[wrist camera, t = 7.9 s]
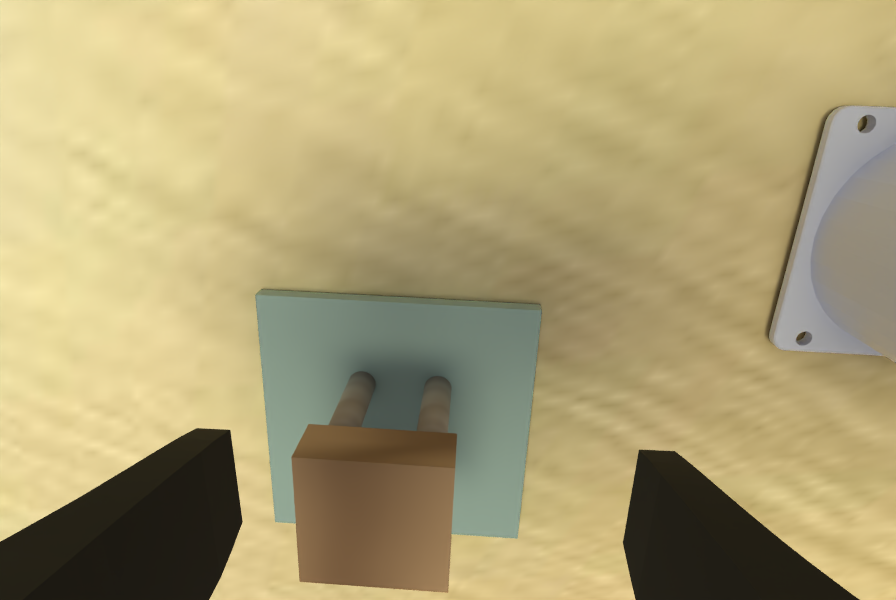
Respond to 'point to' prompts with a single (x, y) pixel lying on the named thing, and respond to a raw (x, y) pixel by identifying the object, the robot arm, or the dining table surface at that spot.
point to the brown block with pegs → (376, 495)
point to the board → (406, 385)
